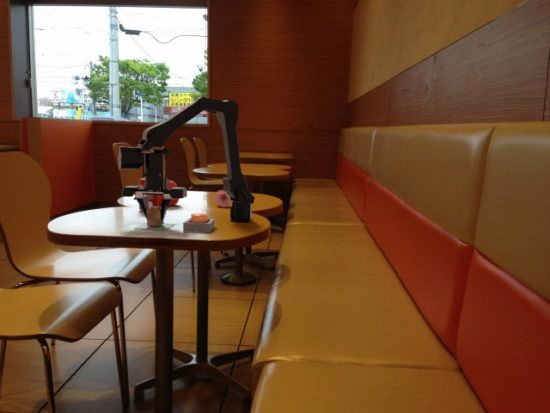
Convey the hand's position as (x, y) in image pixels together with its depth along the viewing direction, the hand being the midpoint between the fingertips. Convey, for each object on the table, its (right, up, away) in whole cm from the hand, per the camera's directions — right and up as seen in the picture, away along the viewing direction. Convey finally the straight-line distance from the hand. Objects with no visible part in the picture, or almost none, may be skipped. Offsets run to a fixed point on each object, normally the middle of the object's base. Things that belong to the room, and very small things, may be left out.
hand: (155, 219), depth 140 cm
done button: (+14, -1, -2) cm, 14 cm away
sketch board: (0, -2, 0) cm, 2 cm away
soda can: (-10, +2, +27) cm, 29 cm away
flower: (+16, +4, +42) cm, 46 cm away
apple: (-6, +4, +40) cm, 41 cm away
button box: (+14, -3, -1) cm, 14 cm away
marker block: (0, -2, 0) cm, 2 cm away
